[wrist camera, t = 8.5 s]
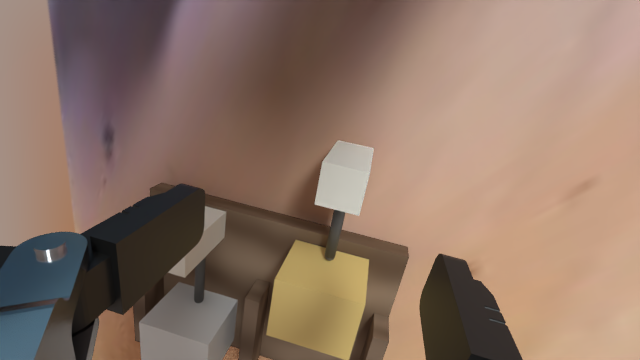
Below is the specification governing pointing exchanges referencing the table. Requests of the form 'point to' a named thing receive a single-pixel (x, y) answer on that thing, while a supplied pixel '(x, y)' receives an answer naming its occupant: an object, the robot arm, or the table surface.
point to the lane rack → (264, 264)
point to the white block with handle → (191, 308)
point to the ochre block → (326, 266)
